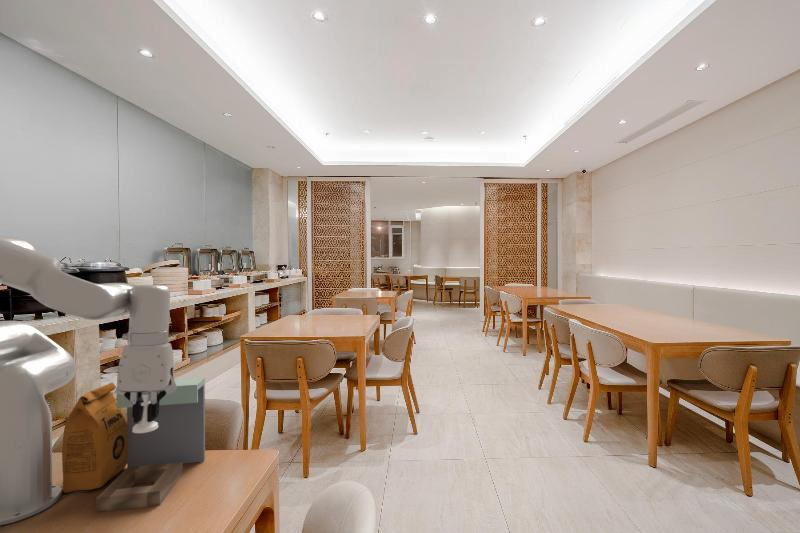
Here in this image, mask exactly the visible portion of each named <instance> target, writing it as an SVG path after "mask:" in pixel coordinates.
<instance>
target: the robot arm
mask: <svg viewBox="0 0 800 533" xmlns="http://www.w3.org/2000/svg"><path fill="white" fill-rule="evenodd" d="M0 284H1V285H5V286H8V287H10V288H14V289H17V290H19V291H22V292H25V293H28V294H29V295H31V297H32V298H33V299H34V300H36V301H38V302H39V303H40V304H42V305H44V306H45V307H47V308H50V309H52V310H54V311H57V312H61V313H64V314H67V315H70V316H73V317H75V318H76V317H77V318H79V319H83V320H89V321H100V320H103V319H108V318H109V319H110V318H115V317H120V316H123V315H129V318H128V319H129V321H128V332H126V333H123V334H122V336H121V339H122V341H123V340H124V341H127V344H126V345H124V346H123V348H122V351H121V355H120V359H119V364H118V370H117V379H116V388H115V389H114V392H115V394H116V395H117V394H120V395H124V396H125V397H126V398H127V399H128V400H129V401H130V404H131V405H133V410H132V417H134V423H137V422H138V421H140V420H141V419H142V415H143V409H144V406H141V403H143V402H144V400H142V393H143V392H151V401H150V404H149V405H148V413H147V422H152V421H153V420H154V419H155V418H157V416H158V415H159V401H160V400H161V399H162V398H163V397H164V396H165V395H167V394H170V393H172V392H174V391H176V390H177V386H176V383H175V381H174V380H175V361H174V352H173V347H172V343H170V342H169V332H170V331H169V329H170V328H169V327H170V307H171V306H170V305H171V304H170V303H171V290H170V288H169V287H168V286H167V285H162V284H131V283H126V282H109V283H108V282H107V283H94V282H92V281H89V280H85V279H82V278H80V277H77V276H73V275H71V274H69V273H66V272H64V271H62V265H61V262H60V261H59V260H58V259H57V258H55V257H53V256H49V255H47V254H44V253H41V252H39V251H37V250H36V248H35V247H34V246H33V245H32V244H31V243H29V242H28V241H26V240H23V239H21V238H17V237H12V236H11V237H10V236H9V237H8V236H3V235H2V236H1V235H0ZM76 372H77V363H76V361H75V358H74V357H73V356H72V355H71V354H70V353H69V352H68V351H67V350H66V349H65V348H63V347H62V346H60V345H59V344H58V343H56V342H55V341H54V340H53V339H51V338H50V337H48V336H47V335H46V334H44V333H43V332H41V331H40V330H38V329H37V328H36V327H34V326H33V325H30V324H29V323H26V322H23V321H18V320H1V321H0V526H4V525H8V524H13V523H16V522H18V521H22V520H25V519H27V518H30V517H33V516H34V515H37V514H39V513H41V512H43V511H45V510H46V509H48V508H49V507H51V506H53V505H54V504H55V503H56V502H57V501H59V499H60V498H61V497H62V494H63V487H61V486H59V485H57V484H53V420H52V419H53V418H52V412H51V409H50V406H49V405H48V403H47V401H46V399H45V395H47V394H49V393H52V392H53V391H56V390H58V389H60V388H62V387H64V386H66V385H68V384H69V383H70V382H71V381H72V380H73V378H74V377H75V375H76ZM166 387H168V388H167V389H165V388H166ZM162 390H163V391H162Z"/></svg>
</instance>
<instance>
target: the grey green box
mask: <svg viewBox="0 0 800 533" xmlns="http://www.w3.org/2000/svg"><path fill="white" fill-rule="evenodd" d="M205 380H206V379H205V378H204V377H203V378H188V379H186V378H185V379H174V381H175V383H176V386H177V390H176V391H174V392H172V393H170V394H167V395H165V396H164V397H163V398H162V399H161V400H160V401H159V415H158V416H157V418H155V419H154V420H153V421H155V422H157V423H158V428H157V429H155V430H153V431H150V432H146V433H133V432H132V430H133V427H134V426H135V425H136V424H139V423H140V421H141V420H142V419H141V420H140V421H138V422H137V423H134V417H132V410H133V405H131V404H130V401H129V400H128V399H127V398H126V397H125V396H124V395H120V394H117V393H116V403H117V408H121V409H123V408H124V409H125V408H126V418H127V465H126V466H127V467H126V469H127V468H128V467H135V466H146V465H157V464H167V463H178V462H183V464H191V463H192V464H193V463H202V462H205V461H206V402H205V401H206V400H205V399H206V398H205V397H206V388H205V387H206V385H205V384H206V381H205ZM167 388H168V387H166V388H165V389H167ZM162 391H163V390H162ZM143 393H144V392H143ZM142 400H143V397H142ZM149 401H151V398H150V400H149Z"/></svg>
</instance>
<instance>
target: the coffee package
mask: <svg viewBox="0 0 800 533" xmlns="http://www.w3.org/2000/svg"><path fill="white" fill-rule="evenodd" d="M116 388H117V385H115V383H114V382H113V381H112V382H109V383H107V384H104V385H103V386H100V387H98V388H95V389H93V390H90V391H88V392H87V393H85V394H83V395H81V396H80V397H79V398H78V400H77V402H76V404H75V405H74V406H73V408H72V410H71V412H70V413H69V414H68V417H67V418H66V421H65V423H64V428H63V433H62V448H61V449H62V450H61V464H62V465H61V466H62V469H61V470H62V493H63V494H68V493H71V492H72V493H73V492H77V491H83V490H84V491H91V490H95V489H99V488H102V487H103V486H104V485H106V483H107V482H108V481H109V480H110V481H111V479H112V478H114V476H116V475H118V474H119V473H120V472H121V471H122V470H123V469H124V468H125V467H126V466H127V414H125V412H124V411H123V408H117V399H116V398H115V396H114V393H112V391H115V390H116Z"/></svg>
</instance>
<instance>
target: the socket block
mask: <svg viewBox="0 0 800 533" xmlns="http://www.w3.org/2000/svg"><path fill="white" fill-rule="evenodd" d="M183 464H184V463H183V462H178V463H167V464H157V465H146V466H135V467H128V468H127V467H126V469H125V470H123V472H121V474H120V475H119V476H117V478H116V479H115V480H113V481H112V483H110V484H109V486H107V487H106V488H105V489H104V490H103V491H102V492H101V493H100V494H99V495H98V496H97V497H96V498H95V499H96V500H95V501H96V513H102V512H109V511H119V510H129V509H137V508H144V507H145V508H147V507H154V506H155V507H156V506H161V504H162V503H163V502H164V501H165V499H166V497H167V496H168V495H169V494H170V492H171V491H172V490H173V488H174V487H175V485H176V484H177V482H179V480H180V479H181V477H182V476H183V475H184V465H183ZM151 483H152V484H153V485H145V486H136V487H134V486H135V485H140V484H141V485H143V484H151Z"/></svg>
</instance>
